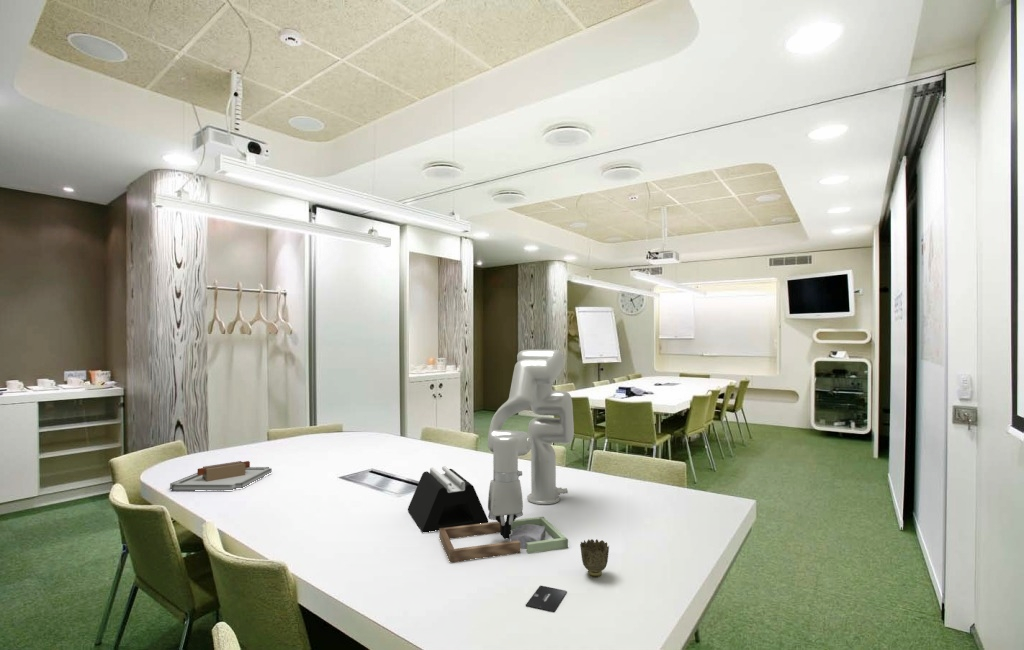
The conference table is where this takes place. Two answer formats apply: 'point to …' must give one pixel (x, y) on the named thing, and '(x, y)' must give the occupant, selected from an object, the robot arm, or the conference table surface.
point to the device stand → (445, 501)
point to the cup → (594, 556)
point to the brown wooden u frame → (475, 551)
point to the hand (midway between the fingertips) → (505, 537)
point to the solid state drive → (546, 598)
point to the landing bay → (544, 545)
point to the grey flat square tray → (221, 477)
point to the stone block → (528, 534)
